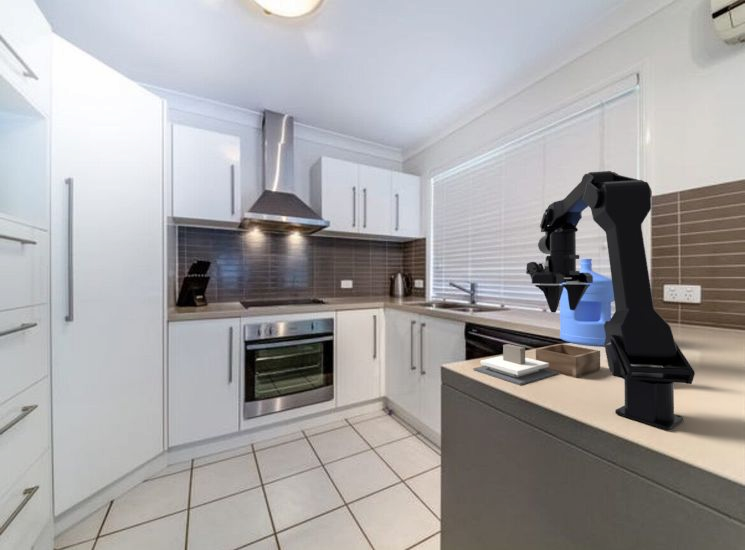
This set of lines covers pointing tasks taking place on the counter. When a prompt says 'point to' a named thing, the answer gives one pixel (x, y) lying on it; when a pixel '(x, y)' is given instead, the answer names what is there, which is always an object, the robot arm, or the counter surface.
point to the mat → (521, 379)
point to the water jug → (587, 310)
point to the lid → (514, 362)
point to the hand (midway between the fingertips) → (563, 311)
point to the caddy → (569, 359)
